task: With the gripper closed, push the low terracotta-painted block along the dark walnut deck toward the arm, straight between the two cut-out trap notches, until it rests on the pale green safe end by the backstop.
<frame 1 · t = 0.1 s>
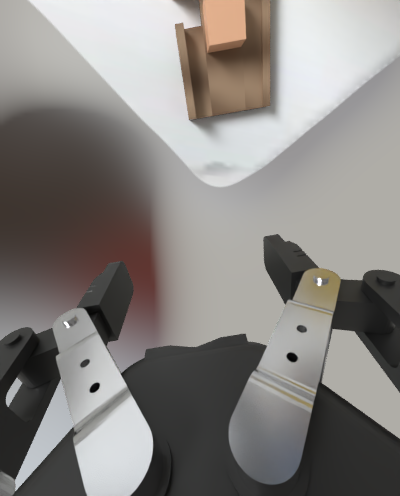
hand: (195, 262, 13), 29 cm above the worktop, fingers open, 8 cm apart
block: (222, 27, 28), point 1 cm above the worktop, touching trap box
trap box: (220, 26, 29), on the worktop
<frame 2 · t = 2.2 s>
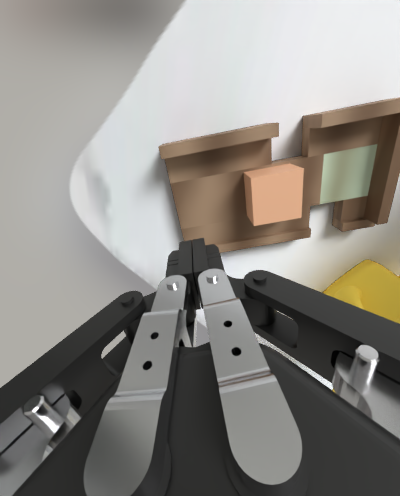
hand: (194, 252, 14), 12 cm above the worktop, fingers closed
teapot: (352, 295, 32), on the worktop
block: (267, 190, 23), point 1 cm above the worktop, touching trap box
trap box: (267, 186, 24), on the worktop
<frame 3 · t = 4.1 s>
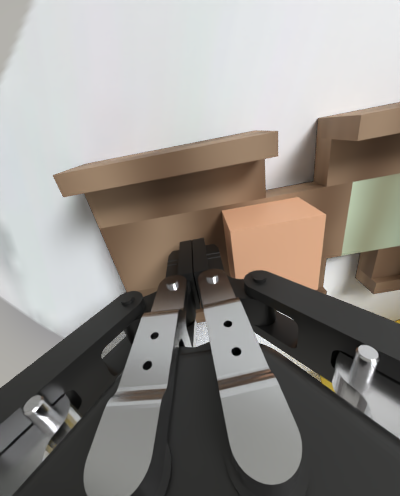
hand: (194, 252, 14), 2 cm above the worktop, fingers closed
block: (260, 237, 14), point 2 cm above the worktop, touching gripper, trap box
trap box: (260, 226, 15), on the worktop
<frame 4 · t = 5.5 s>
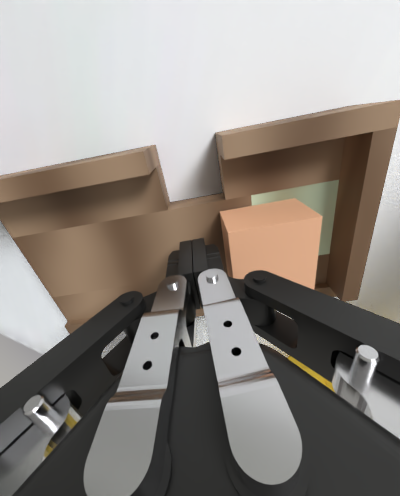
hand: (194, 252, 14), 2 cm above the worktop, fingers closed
block: (258, 238, 14), point 2 cm above the worktop, touching gripper, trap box
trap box: (178, 236, 16), on the worktop
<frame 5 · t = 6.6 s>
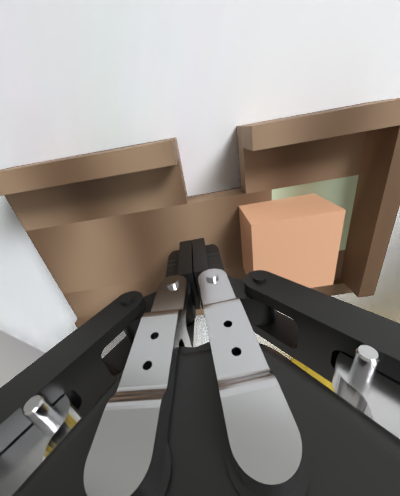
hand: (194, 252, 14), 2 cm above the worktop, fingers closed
block: (275, 233, 14), point 1 cm above the worktop, touching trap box
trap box: (193, 231, 16), on the worktop
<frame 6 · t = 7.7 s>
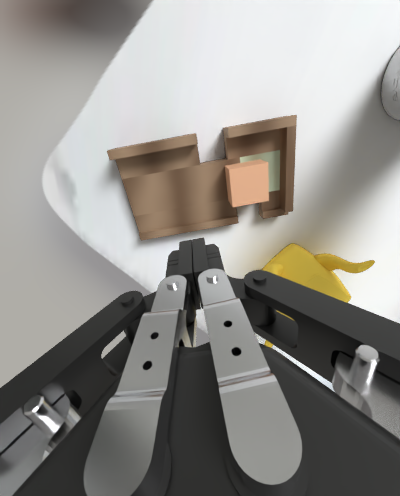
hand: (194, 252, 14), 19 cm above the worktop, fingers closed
teapot: (286, 274, 39), on the worktop
block: (243, 180, 29), point 1 cm above the worktop, touching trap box
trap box: (202, 182, 30), on the worktop
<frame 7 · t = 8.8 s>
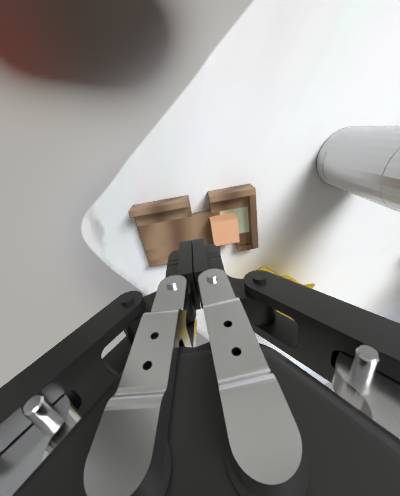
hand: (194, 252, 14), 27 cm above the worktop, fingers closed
block: (223, 226, 41), point 1 cm above the worktop, touching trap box
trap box: (194, 225, 42), on the worktop
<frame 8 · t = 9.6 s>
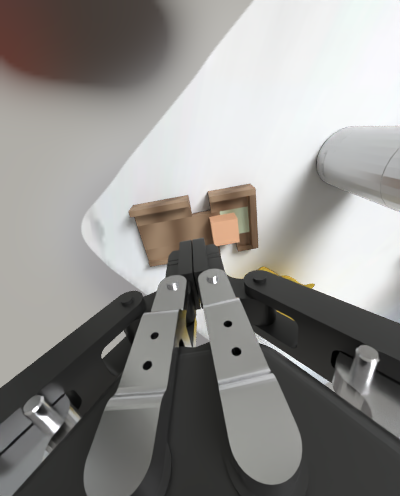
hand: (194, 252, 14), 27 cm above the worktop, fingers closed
block: (223, 226, 41), point 1 cm above the worktop, touching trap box
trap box: (194, 226, 42), on the worktop
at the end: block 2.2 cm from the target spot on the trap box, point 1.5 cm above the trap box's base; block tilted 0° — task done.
